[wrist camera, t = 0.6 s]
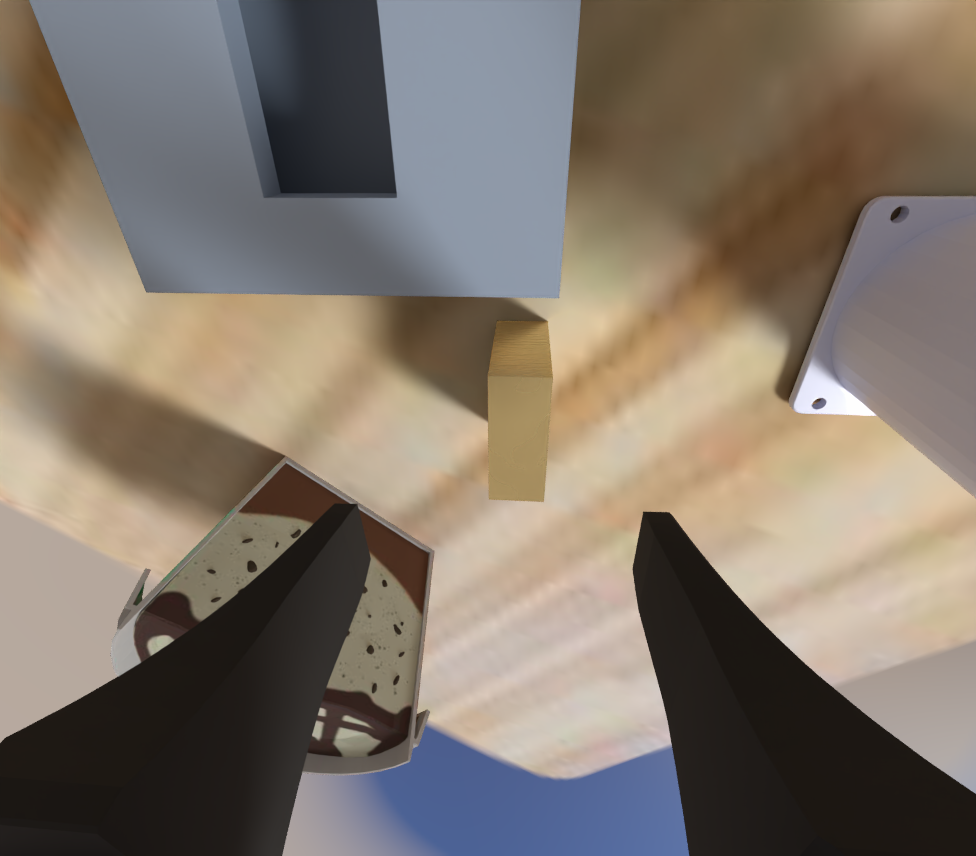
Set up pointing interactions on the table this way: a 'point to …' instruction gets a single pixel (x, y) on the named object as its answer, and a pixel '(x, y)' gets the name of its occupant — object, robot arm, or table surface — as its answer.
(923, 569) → the table surface
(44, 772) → the robot arm
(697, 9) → the table surface
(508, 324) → the block
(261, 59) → the coin box
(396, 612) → the food container
